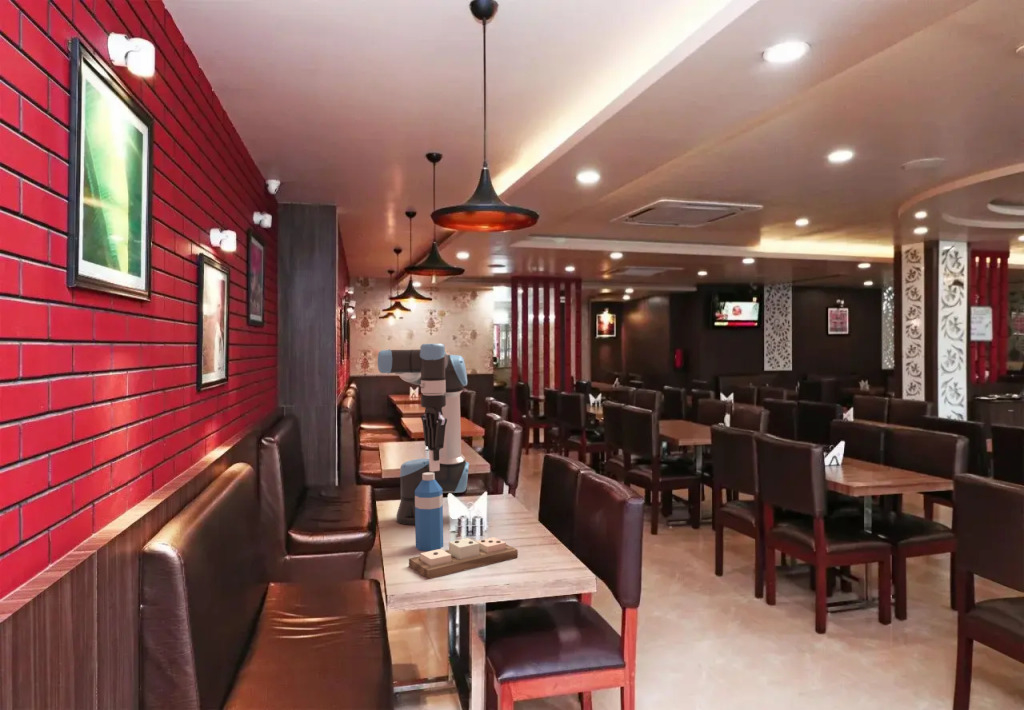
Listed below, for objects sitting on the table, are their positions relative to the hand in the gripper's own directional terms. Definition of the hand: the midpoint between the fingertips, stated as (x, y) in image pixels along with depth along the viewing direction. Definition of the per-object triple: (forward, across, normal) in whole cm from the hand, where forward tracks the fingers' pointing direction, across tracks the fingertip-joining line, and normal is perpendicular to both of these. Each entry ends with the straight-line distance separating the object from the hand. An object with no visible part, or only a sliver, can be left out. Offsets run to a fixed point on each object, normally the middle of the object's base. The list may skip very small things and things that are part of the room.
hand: (434, 470), depth 201 cm
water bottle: (+31, -20, +8) cm, 37 cm away
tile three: (+30, 0, +20) cm, 36 cm away
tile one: (+30, 0, 0) cm, 30 cm away
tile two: (+28, 0, +10) cm, 30 cm away
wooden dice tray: (+30, 0, +10) cm, 32 cm away
